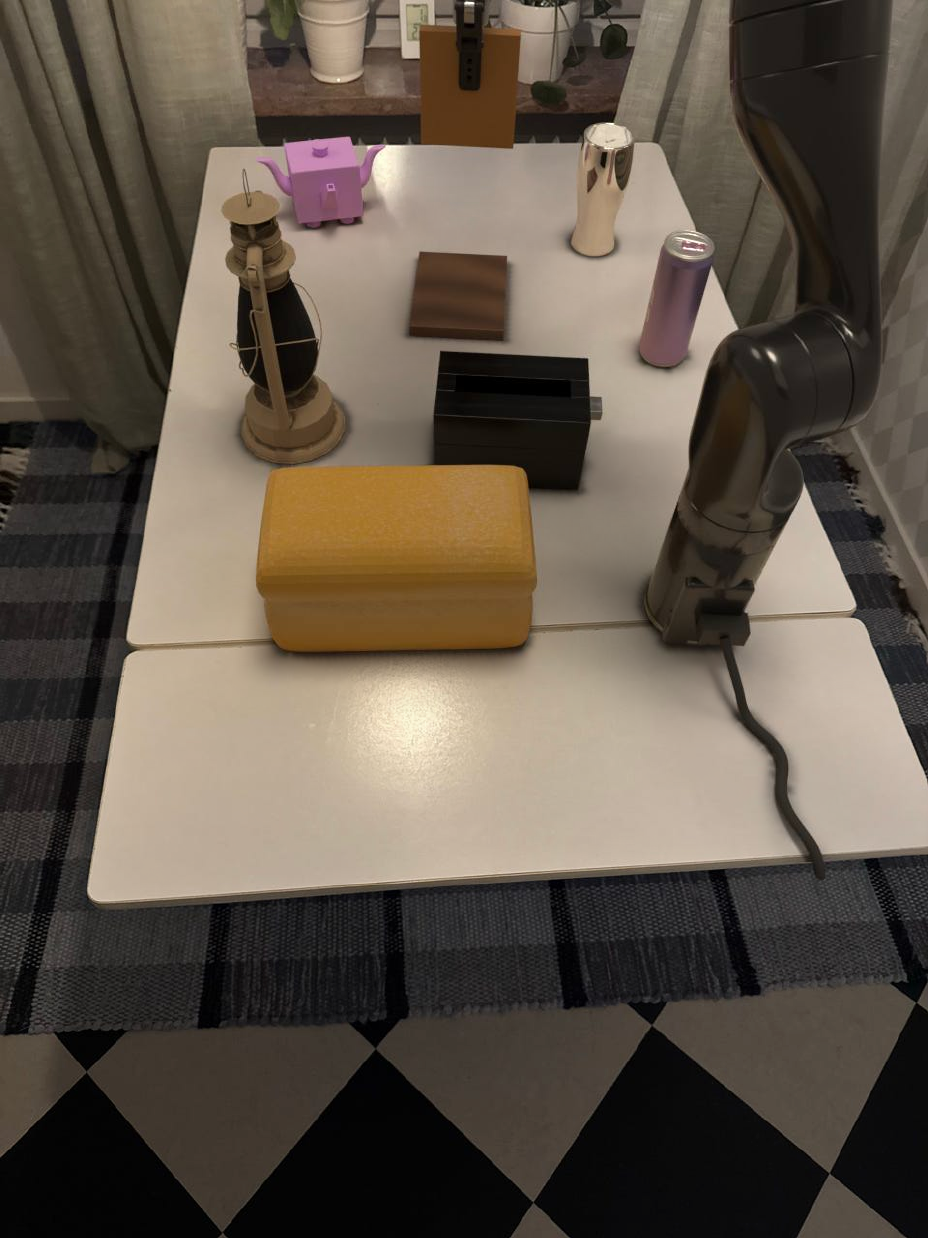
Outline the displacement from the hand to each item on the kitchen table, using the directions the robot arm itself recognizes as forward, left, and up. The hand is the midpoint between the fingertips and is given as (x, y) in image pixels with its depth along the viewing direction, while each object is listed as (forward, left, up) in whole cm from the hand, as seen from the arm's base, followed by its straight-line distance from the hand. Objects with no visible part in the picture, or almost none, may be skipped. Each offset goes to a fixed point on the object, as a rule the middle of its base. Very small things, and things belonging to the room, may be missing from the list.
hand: (469, 83), depth 88 cm
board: (+3, +1, -28) cm, 28 cm away
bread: (-46, +4, -28) cm, 54 cm away
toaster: (-25, -6, -28) cm, 38 cm away
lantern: (-22, +19, -28) cm, 40 cm away
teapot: (+21, +21, -28) cm, 41 cm away
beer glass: (+17, -17, -28) cm, 37 cm away
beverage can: (-6, -25, -28) cm, 38 cm away
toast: (0, 0, -6) cm, 6 cm away
